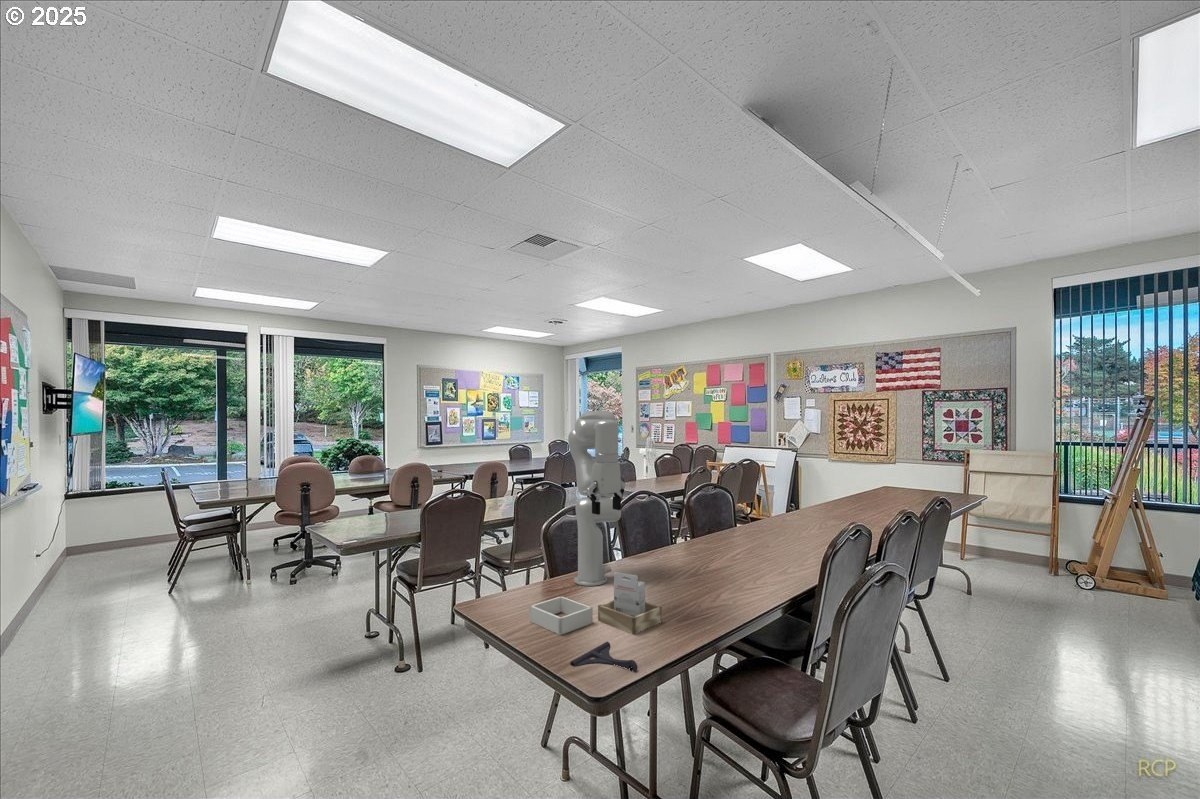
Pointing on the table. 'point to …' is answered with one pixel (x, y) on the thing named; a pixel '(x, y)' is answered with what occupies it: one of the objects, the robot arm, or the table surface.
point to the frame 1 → (560, 625)
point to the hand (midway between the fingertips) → (606, 511)
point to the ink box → (629, 594)
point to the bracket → (602, 658)
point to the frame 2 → (630, 617)
